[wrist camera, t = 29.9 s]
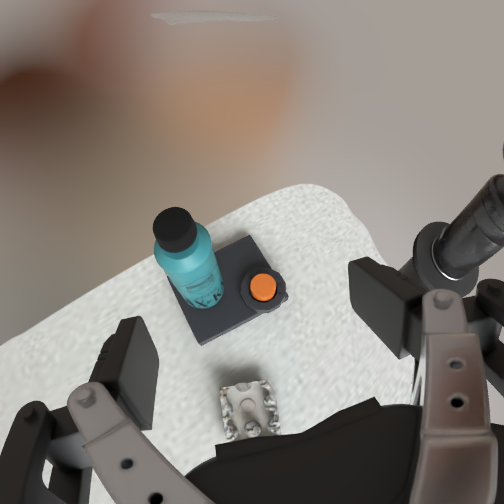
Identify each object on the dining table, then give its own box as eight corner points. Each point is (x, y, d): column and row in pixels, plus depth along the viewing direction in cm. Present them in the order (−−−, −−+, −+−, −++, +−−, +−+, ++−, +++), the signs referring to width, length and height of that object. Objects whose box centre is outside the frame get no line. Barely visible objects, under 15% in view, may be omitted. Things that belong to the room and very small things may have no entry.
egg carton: (220, 385, 40) (216, 384, 36) (271, 378, 40) (273, 378, 37) (230, 452, 35) (227, 458, 32) (282, 446, 36) (284, 451, 32)
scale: (251, 239, 50) (251, 228, 47) (291, 303, 45) (294, 296, 42) (169, 280, 47) (163, 272, 44) (203, 350, 42) (198, 347, 39)
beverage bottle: (175, 292, 44) (124, 226, 26) (206, 263, 46) (176, 183, 28) (204, 322, 42) (164, 270, 24) (236, 291, 44) (220, 220, 26)
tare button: (267, 273, 44) (267, 269, 42) (280, 293, 43) (280, 290, 41) (246, 284, 43) (245, 280, 42) (258, 305, 42) (258, 302, 40)
